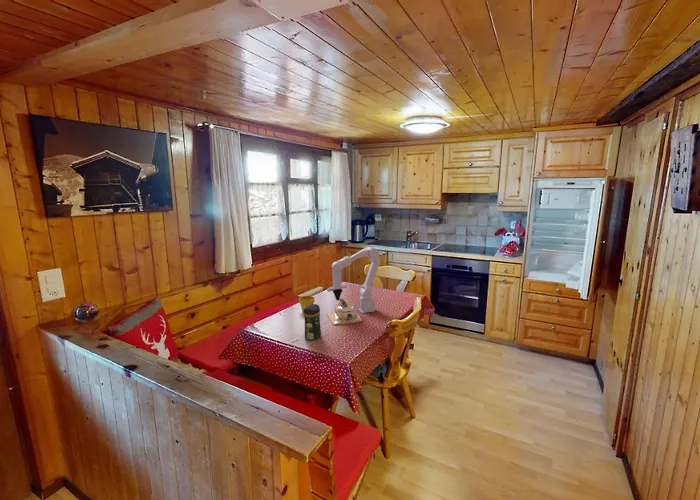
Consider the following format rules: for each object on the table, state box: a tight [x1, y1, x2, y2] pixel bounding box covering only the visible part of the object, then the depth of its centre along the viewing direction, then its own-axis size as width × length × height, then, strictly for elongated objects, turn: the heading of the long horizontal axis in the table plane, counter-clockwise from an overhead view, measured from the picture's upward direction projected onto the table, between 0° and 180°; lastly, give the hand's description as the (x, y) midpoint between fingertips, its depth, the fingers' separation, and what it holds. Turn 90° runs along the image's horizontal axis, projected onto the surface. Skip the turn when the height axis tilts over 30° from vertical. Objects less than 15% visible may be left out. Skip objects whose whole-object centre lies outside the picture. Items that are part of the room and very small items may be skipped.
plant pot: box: [298, 294, 315, 314], centre depth 224 cm, size 10×10×10 cm
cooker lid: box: [333, 298, 358, 312], centre depth 213 cm, size 18×15×3 cm
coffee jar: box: [303, 303, 322, 341], centre depth 183 cm, size 10×8×19 cm
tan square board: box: [326, 308, 363, 326], centre depth 213 cm, size 19×22×6 cm
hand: (337, 299), depth 218 cm, fingers closed
